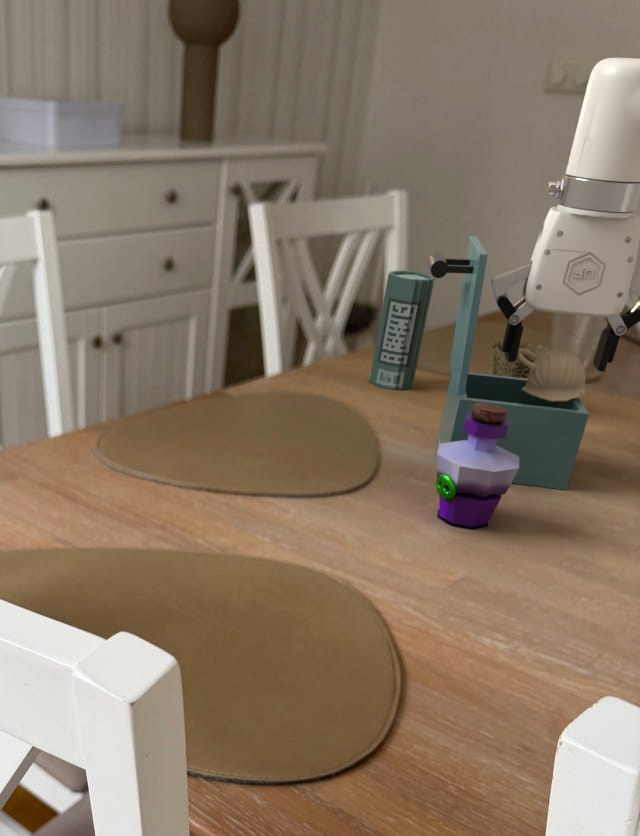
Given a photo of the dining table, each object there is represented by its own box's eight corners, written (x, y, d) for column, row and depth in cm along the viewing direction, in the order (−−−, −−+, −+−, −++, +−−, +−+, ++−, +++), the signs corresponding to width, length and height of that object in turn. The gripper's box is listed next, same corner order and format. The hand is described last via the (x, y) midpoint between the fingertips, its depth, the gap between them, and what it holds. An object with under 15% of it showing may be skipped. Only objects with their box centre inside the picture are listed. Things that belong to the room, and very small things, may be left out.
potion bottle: (406, 516, 102) (430, 403, 95) (443, 494, 107) (468, 386, 101) (484, 543, 97) (515, 427, 91) (518, 519, 103) (549, 408, 97)
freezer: (550, 454, 120) (570, 383, 116) (566, 490, 111) (589, 413, 106) (436, 440, 122) (452, 370, 117) (442, 474, 112) (459, 398, 108)
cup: (469, 401, 137) (483, 343, 133) (497, 392, 141) (511, 336, 137) (517, 416, 132) (533, 357, 128) (544, 407, 137) (560, 349, 133)
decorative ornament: (588, 403, 109) (598, 355, 106) (509, 399, 111) (517, 351, 108) (583, 393, 112) (593, 345, 109) (507, 389, 114) (515, 342, 111)
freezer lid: (477, 236, 110) (429, 234, 110) (487, 254, 100) (435, 252, 101) (456, 366, 117) (411, 364, 118) (464, 395, 107) (416, 392, 108)
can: (415, 380, 144) (436, 274, 136) (409, 392, 139) (431, 282, 131) (374, 374, 146) (393, 268, 138) (366, 384, 141) (386, 276, 133)
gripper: (516, 195, 98) (478, 364, 107) (697, 210, 96) (642, 381, 105) (507, 186, 105) (472, 347, 114) (676, 200, 103) (626, 363, 112)
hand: (553, 363), depth 110 cm, fingers open, 9 cm apart
